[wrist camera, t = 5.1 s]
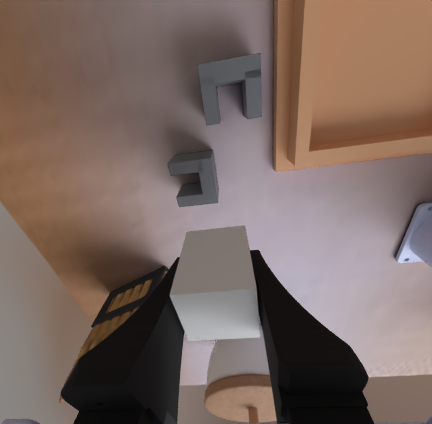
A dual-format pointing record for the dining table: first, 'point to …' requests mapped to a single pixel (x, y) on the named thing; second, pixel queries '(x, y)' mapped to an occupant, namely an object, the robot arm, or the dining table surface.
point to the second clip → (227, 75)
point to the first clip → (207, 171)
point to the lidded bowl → (240, 381)
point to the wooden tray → (351, 81)
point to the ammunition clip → (120, 308)
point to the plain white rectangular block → (216, 286)
